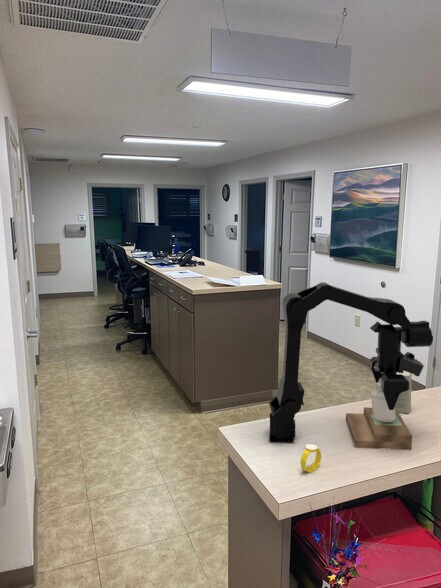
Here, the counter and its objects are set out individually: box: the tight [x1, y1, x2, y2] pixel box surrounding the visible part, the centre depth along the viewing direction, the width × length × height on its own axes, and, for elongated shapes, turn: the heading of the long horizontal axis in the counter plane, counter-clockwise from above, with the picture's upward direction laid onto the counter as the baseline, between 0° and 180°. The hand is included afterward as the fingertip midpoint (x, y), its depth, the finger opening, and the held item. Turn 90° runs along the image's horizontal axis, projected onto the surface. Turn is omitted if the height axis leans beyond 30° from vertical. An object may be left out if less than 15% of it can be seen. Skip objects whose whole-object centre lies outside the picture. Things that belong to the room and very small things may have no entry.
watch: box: [300, 443, 322, 473], centre depth 104 cm, size 6×3×6 cm, turn 128°
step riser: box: [345, 406, 413, 451], centre depth 120 cm, size 14×16×4 cm
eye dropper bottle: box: [370, 378, 396, 422], centre depth 117 cm, size 4×6×12 cm
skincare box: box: [395, 371, 412, 415], centre depth 133 cm, size 6×4×12 cm
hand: (386, 402), depth 118 cm, fingers open, 9 cm apart
